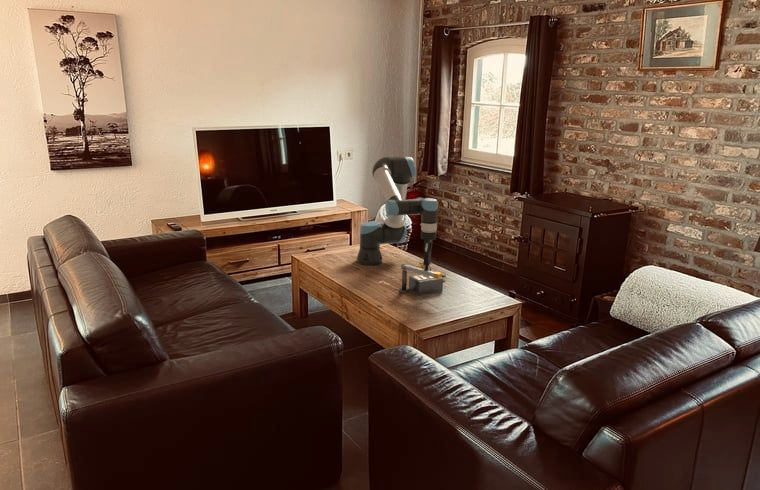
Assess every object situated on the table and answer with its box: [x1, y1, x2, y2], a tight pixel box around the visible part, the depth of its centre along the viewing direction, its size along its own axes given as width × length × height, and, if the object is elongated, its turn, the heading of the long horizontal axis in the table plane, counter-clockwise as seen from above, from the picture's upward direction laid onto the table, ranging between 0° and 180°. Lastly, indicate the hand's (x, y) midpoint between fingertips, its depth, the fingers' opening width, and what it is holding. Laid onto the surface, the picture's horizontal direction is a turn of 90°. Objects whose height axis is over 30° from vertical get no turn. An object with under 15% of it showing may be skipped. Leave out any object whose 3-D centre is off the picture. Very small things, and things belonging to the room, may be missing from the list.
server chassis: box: [408, 274, 444, 296], centre depth 296 cm, size 10×14×8 cm
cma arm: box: [400, 263, 442, 279], centre depth 285 cm, size 4×23×2 cm, turn 51°
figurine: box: [417, 261, 447, 282], centre depth 316 cm, size 12×9×15 cm
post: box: [398, 269, 410, 294], centre depth 293 cm, size 5×5×11 cm
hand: (426, 276), depth 288 cm, fingers closed
